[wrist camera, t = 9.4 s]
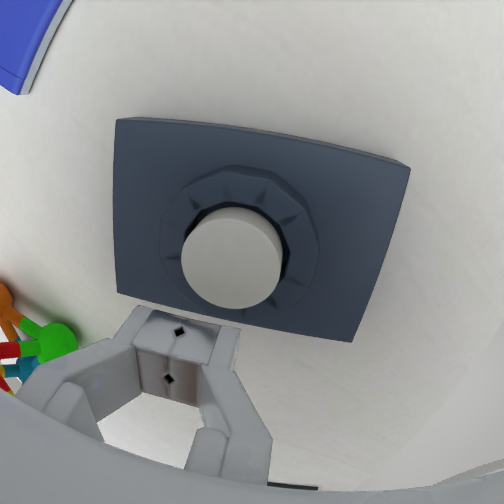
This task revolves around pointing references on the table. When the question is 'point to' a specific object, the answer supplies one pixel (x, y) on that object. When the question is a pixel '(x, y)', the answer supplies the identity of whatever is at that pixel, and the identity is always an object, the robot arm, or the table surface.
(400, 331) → the table surface
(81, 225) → the table surface
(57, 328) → the molecular model
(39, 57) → the hard drive
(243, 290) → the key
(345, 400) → the table surface
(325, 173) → the push button box
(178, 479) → the robot arm
